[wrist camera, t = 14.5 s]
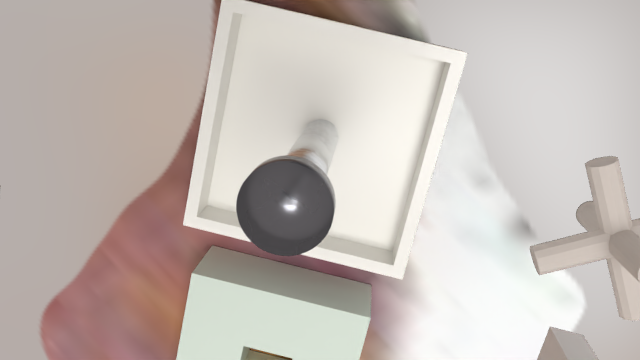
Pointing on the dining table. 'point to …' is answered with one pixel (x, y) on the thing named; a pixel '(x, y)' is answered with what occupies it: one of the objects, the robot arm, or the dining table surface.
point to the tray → (332, 105)
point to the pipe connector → (601, 237)
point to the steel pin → (291, 195)
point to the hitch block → (271, 311)
